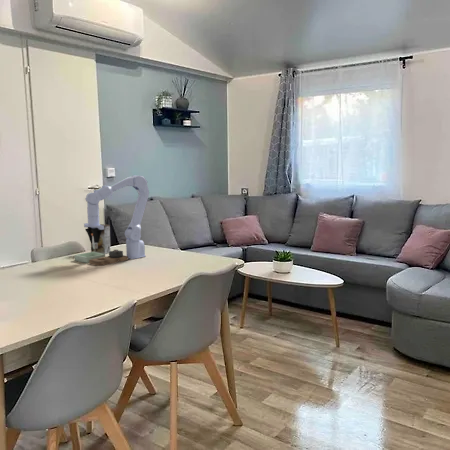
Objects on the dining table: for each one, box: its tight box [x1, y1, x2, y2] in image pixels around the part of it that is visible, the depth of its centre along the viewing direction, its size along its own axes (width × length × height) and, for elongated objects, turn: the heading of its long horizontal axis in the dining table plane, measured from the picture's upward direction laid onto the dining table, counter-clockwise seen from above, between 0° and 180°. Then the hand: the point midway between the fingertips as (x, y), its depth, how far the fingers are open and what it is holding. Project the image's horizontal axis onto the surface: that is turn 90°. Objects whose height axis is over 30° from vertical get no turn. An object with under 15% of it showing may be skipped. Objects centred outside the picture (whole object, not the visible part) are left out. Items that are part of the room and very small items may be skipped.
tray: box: [74, 251, 106, 264], centre depth 246 cm, size 11×11×3 cm
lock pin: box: [91, 233, 98, 249], centre depth 241 cm, size 3×3×8 cm
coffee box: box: [90, 223, 111, 255], centre depth 264 cm, size 9×6×16 cm
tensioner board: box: [88, 249, 129, 267], centre depth 242 cm, size 18×8×6 cm, turn 139°
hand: (94, 242), depth 242 cm, fingers closed on lock pin, 3 cm apart
